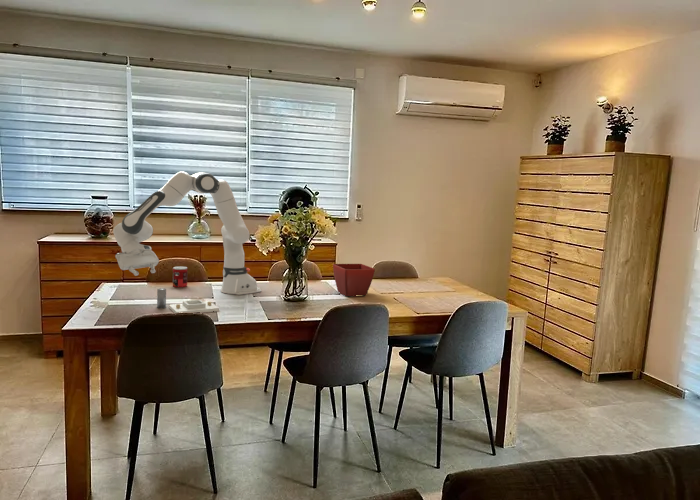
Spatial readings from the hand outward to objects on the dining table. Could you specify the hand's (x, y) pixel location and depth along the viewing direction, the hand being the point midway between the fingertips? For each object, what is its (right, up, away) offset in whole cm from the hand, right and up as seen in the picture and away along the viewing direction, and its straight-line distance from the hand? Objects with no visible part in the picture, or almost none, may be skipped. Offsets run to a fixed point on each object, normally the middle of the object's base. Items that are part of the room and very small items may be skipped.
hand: (145, 273), depth 242 cm
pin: (+9, -16, -4) cm, 19 cm away
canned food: (+2, -9, +42) cm, 43 cm away
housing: (+25, -17, -4) cm, 31 cm away
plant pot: (+102, -15, +48) cm, 114 cm away
